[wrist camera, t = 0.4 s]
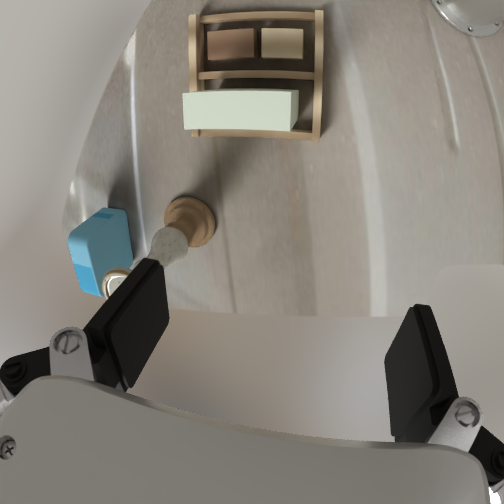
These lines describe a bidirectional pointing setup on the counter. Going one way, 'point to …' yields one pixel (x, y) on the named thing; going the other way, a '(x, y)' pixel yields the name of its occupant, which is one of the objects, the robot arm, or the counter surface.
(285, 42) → the pine offcut
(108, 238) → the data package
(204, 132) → the oak rack
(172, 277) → the counter surface
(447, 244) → the counter surface
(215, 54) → the walnut offcut
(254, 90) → the sage panel
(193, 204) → the candle holder
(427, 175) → the counter surface
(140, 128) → the counter surface
